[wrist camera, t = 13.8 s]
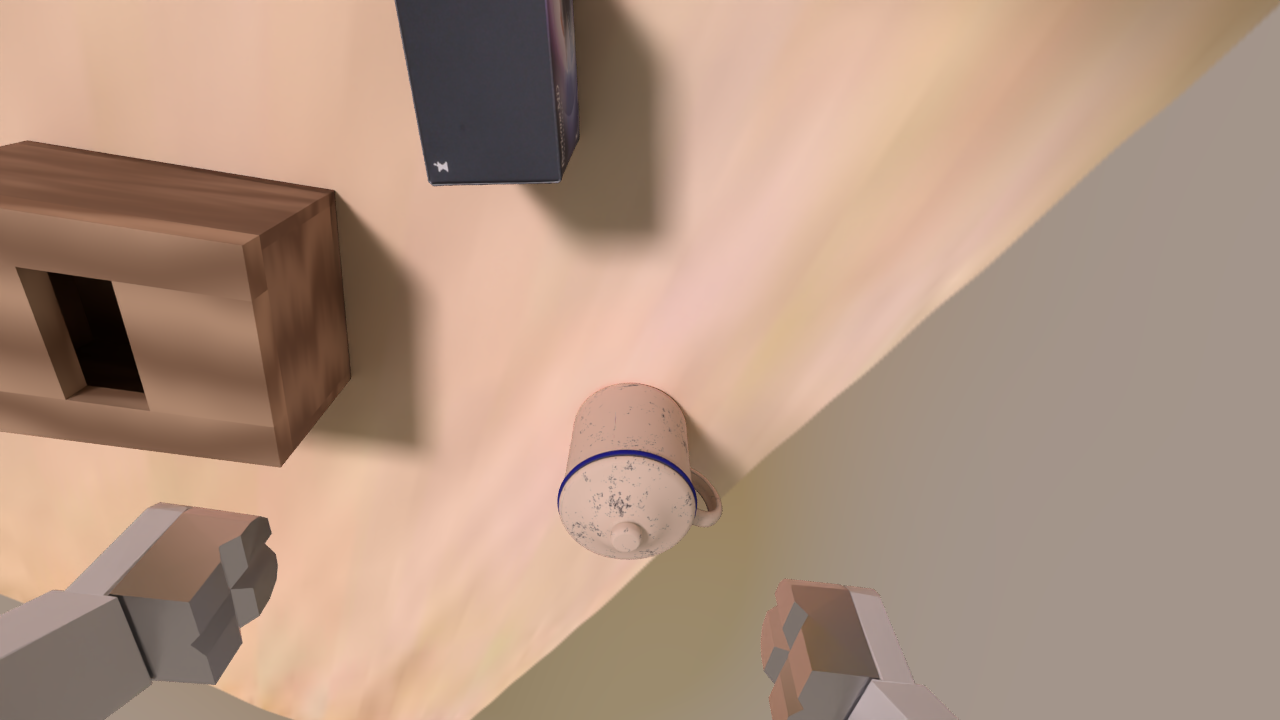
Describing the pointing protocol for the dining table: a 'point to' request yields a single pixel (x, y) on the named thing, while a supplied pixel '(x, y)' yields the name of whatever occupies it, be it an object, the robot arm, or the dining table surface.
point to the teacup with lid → (632, 475)
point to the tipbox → (166, 305)
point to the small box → (492, 88)
